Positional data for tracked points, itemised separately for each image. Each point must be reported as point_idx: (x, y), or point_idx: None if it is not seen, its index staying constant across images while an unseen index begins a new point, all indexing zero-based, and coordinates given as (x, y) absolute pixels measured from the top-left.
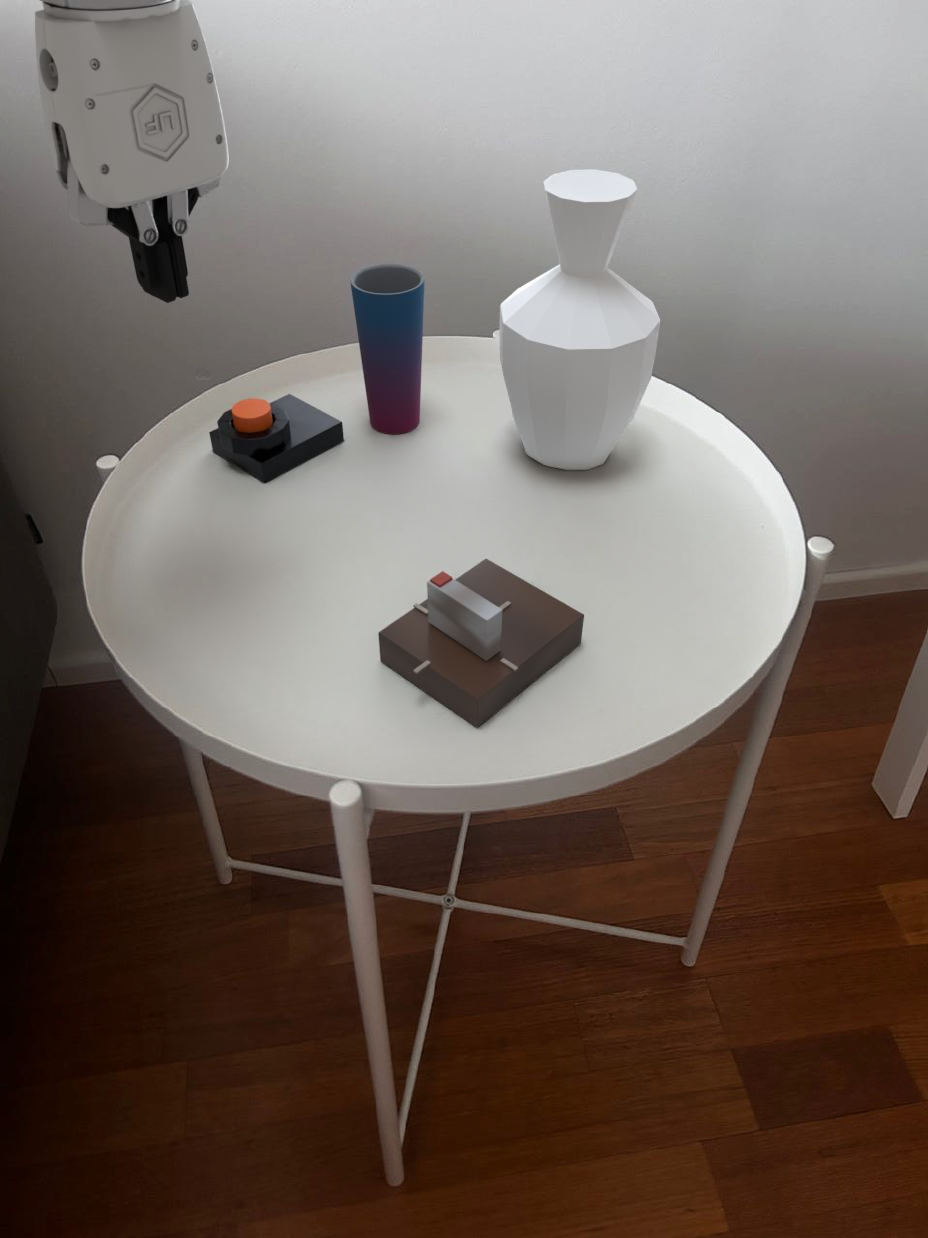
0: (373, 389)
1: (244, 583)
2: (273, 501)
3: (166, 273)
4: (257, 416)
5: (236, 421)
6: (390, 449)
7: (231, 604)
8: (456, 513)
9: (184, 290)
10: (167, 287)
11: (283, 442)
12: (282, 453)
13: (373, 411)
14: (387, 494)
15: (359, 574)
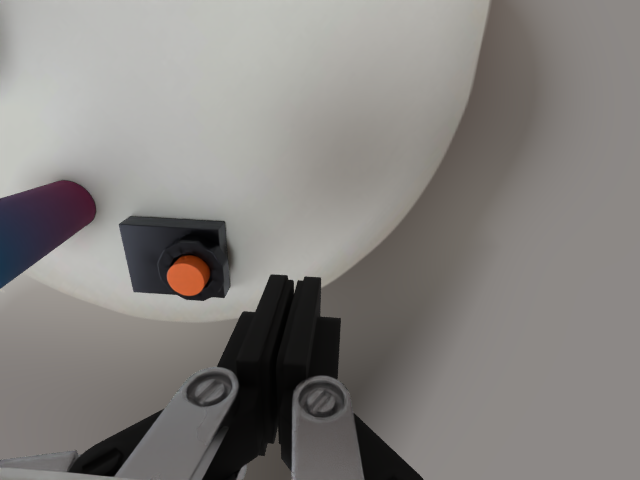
0: (65, 221)
1: (328, 123)
2: (235, 195)
3: (309, 312)
4: (189, 265)
5: (206, 277)
6: (101, 173)
7: (356, 109)
8: (108, 38)
9: (279, 279)
10: (317, 293)
11: (184, 236)
12: (193, 228)
13: (83, 214)
14: (146, 121)
15: (245, 44)
